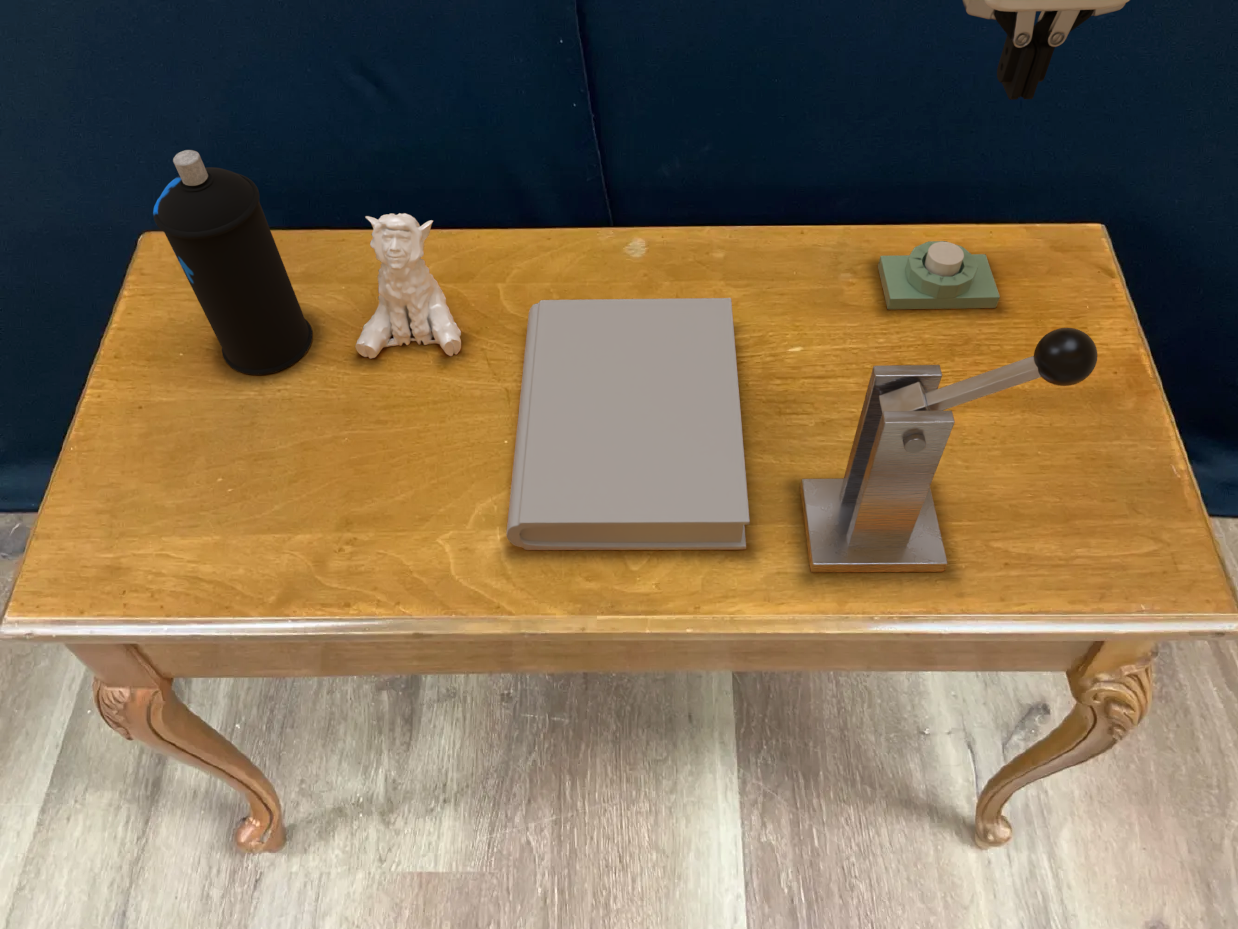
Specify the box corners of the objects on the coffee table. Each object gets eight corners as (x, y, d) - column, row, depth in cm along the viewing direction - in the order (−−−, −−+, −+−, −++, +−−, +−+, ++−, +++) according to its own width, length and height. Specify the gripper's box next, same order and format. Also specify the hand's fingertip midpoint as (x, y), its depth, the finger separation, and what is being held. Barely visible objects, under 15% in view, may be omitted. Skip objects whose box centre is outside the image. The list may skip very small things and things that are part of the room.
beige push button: (956, 254, 90) (960, 240, 89) (963, 277, 89) (967, 264, 87) (921, 254, 91) (925, 241, 89) (927, 277, 89) (931, 264, 87)
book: (731, 297, 86) (749, 521, 71) (728, 328, 89) (745, 549, 74) (526, 299, 86) (503, 522, 72) (530, 330, 89) (509, 550, 75)
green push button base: (981, 264, 93) (990, 240, 91) (996, 308, 90) (1005, 284, 87) (877, 266, 94) (883, 241, 91) (887, 310, 90) (893, 285, 87)
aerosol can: (324, 314, 92) (255, 127, 76) (298, 378, 87) (219, 193, 71) (240, 310, 92) (155, 123, 76) (209, 373, 87) (111, 188, 71)
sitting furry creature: (357, 362, 88) (321, 259, 78) (368, 296, 93) (336, 192, 83) (462, 357, 88) (439, 253, 78) (467, 292, 93) (446, 187, 83)
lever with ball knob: (1092, 343, 62) (1081, 307, 59) (1109, 385, 59) (1098, 349, 57) (891, 412, 67) (873, 382, 65) (900, 453, 65) (882, 423, 62)
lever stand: (924, 486, 78) (977, 347, 65) (944, 572, 73) (1005, 440, 60) (799, 487, 78) (828, 349, 65) (810, 572, 73) (843, 441, 60)
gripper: (993, -169, 55) (922, 121, 69) (1262, -179, 54) (1134, 115, 69) (964, -217, 59) (904, 64, 74) (1212, -226, 59) (1102, 59, 73)
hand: (1015, 88), depth 71 cm, fingers closed
